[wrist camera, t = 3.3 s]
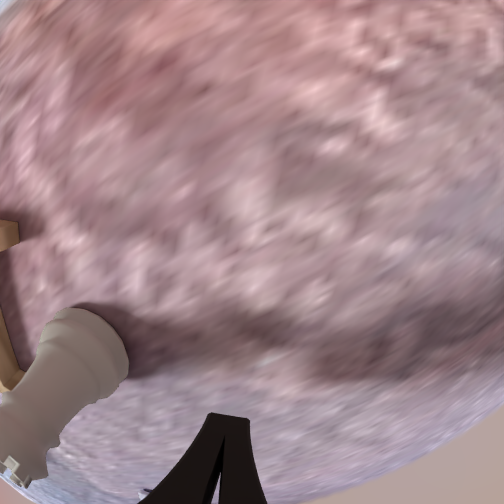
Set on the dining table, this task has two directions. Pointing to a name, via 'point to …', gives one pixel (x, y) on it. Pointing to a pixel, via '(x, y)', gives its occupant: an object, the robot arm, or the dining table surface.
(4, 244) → the wooden bracket
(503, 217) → the dining table surface
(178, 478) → the robot arm
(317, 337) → the dining table surface
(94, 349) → the rook chess piece
